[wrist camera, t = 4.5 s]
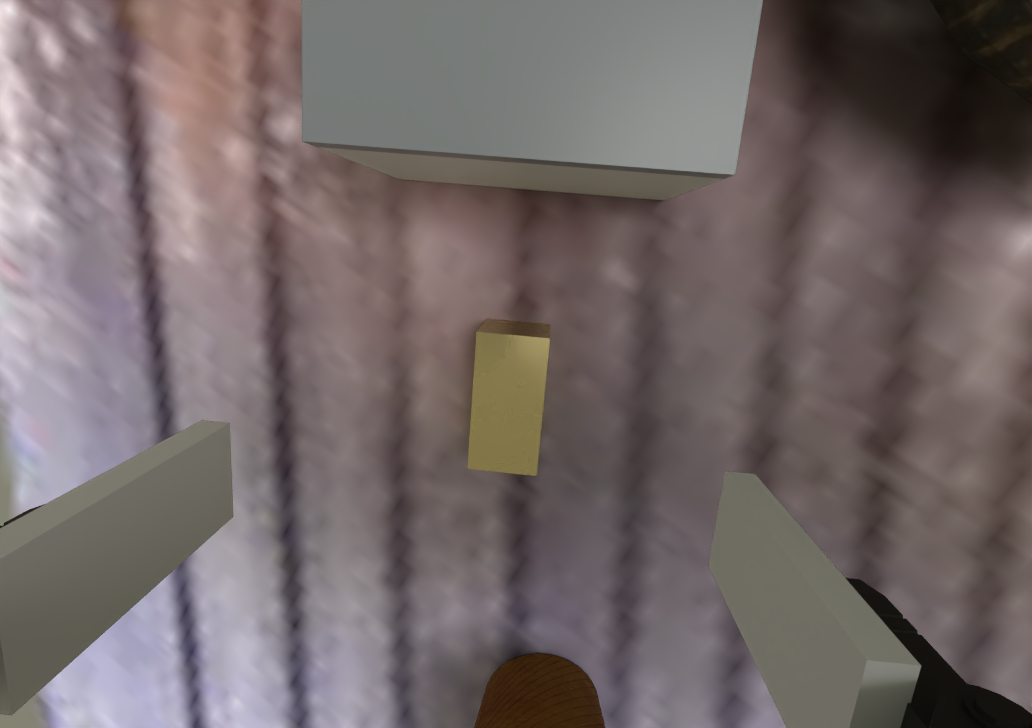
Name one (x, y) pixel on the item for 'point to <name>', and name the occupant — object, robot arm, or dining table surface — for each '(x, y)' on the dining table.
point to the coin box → (532, 90)
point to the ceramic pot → (994, 37)
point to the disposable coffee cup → (540, 695)
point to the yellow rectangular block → (508, 396)
